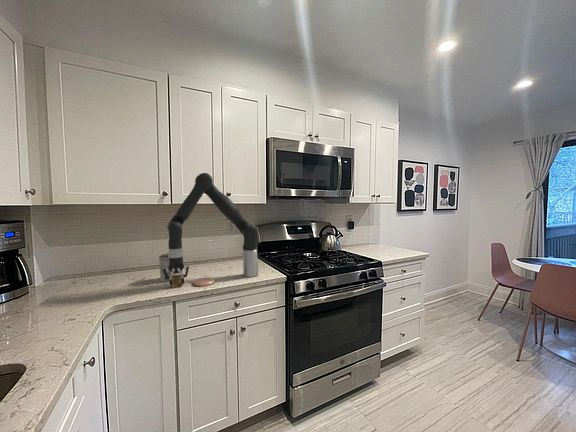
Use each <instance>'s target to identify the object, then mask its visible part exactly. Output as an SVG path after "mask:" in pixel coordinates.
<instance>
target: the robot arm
mask: <svg viewBox="0 0 576 432" xmlns="http://www.w3.org/2000/svg"><path fill="white" fill-rule="evenodd" d="M213 182H214V181H213V176H212V175H211V174H209V173H206V172H201V173H198V175H197V176H196V177H195V179H194V185H193V188H192V189H191V191H190V192H189V194H188V195H187V197H186V198H185V199H184V201H183V202H181V205H180V206H179V208H178V209H177V211H176V213H175V214H174V215H173V216H172V218H171V219H170V221H169V222H168V224H167V226H166V227H167V231H168V237H169V239H168V243H167V244H168V252H167V253H168V257H169V267H168V268H164V269H163V272H164V275H165V278H166V279H169V282H168V283H169V286H170V287H172V276H173V274H176V273H178V275H181V281H182V286H183V285H184V283H185V278H187V277H188V274H189V271H190V270H189V268H190V266H189V265H185V264H184V253H183V252H184V250H183V241H182V237H183V224H184V223H185V221H187V220H188V219H189V217H190V216H191V214H192V212H193V211H194V210H195V207H197V204H198V202H199V201H200V199H201V198H202V197H203V195H204V194H205V195H206V196H207V197H208V198H209V199H210V200H211V202H212V203H213V204H214V205H215V206H216V207H217V209H218V210H219V211H220V213H222V215H224V217H226V218H227V220H229V221H230V222H231V223H233V225H234V226H235V227H236V228H237V229H238V231H239V232H240V233H241V235H242V236H243V245H242V267H243V268H242V270H243V271H242V274H243V276H244V277H246V278H253V277H257V276H259V260H258V244H259V230H258V228H257V226H255V225H252V223H250V222H249V221H248V220H246V219H245V217H244V216H243V214H242V213H241V211H240V209H239V208H238V206H237V205H236V204H235V203H234V202H233V200H232V199H230V198H229V197H228V196H227V195H225V194H224V193H223V192H222V191H220V190H219V189H218V188H217V187H216V185H215V184H214V183H213ZM168 269H169V270H170V272H171V275H170V276H168V274H167V271H168ZM183 270H185V273H184V272H183Z"/></svg>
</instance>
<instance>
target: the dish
mask: <svg viewBox="0 0 576 432" xmlns="http://www.w3.org/2000/svg"><path fill="white" fill-rule="evenodd" d="M215 283H216V281H215V278H213V277H200V278H196V279H194V280H193V285H194V287H201V288H203V287H205V288H206V287H208V286H212V285H214V284H215Z"/></svg>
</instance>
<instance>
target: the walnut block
mask: <svg viewBox="0 0 576 432" xmlns="http://www.w3.org/2000/svg"><path fill="white" fill-rule="evenodd" d="M182 287H183V285H182V281H181V275H180V274H178V275H173V276H172V286H171V288H172V289H177V288H182Z"/></svg>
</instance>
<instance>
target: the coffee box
mask: <svg viewBox="0 0 576 432" xmlns="http://www.w3.org/2000/svg"><path fill="white" fill-rule="evenodd" d="M158 257H159V272H160V273H159V275H160V282H165V283H166V282H167V283H170V282H169V279H166V278H165V275H164V272H163V269H164V268H168V267H169V257H168V252H167V253H164V254H161V255H159V256H158ZM167 274H168V276H170V275H171V272H170V270H169V269H168V271H167ZM173 275H179V273H176V274H173Z"/></svg>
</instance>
